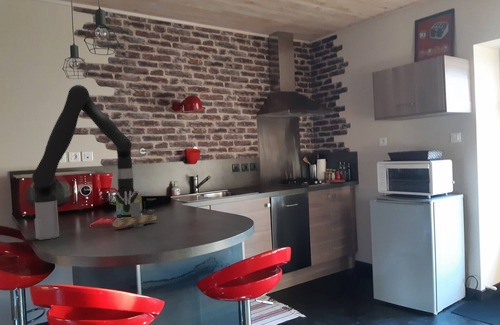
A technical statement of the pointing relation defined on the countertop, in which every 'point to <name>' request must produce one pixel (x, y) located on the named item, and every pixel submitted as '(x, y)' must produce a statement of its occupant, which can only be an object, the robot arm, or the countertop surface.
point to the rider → (135, 209)
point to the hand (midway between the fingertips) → (126, 211)
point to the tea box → (122, 214)
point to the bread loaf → (136, 220)
